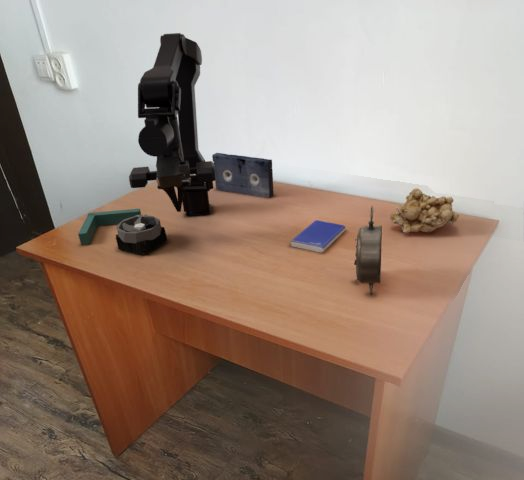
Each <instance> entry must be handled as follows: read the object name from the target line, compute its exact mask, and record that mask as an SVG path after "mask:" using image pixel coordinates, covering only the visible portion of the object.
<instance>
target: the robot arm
mask: <svg viewBox="0 0 524 480" xmlns="http://www.w3.org/2000/svg"><path fill="white" fill-rule="evenodd" d="M159 39H160V40H159V42H160V45H159V49H158V52H157V53H156V54H157V55H156V57H155V61H154V63H153V67H152V68H150V69H148V70H146V71H144V72H143V74H142V76H141V77H140V79H139V80H140V81H139V82H138V84H137V118H138V119H144V121H143V122H144V127H143V128H141V129H140V131H139V133H138V137H137V138H138V139H137V142H138V145H139V148H140V149H141V150H142V151H143V153H144V154H146V155H147V156H150V157H154V158H155V157H156V162H155V167H156V170H151V169H150V168H149V166H137V167H133V168H132V169H131V171H130V173H129V175H128V181H129V185H130V188H131V189H141V188H145V187H147V185H148V183H149V182H151V181H156V183H157V187H156V188H157V189H158V190H162V191H163V192H165V194H166V195H167V196H168V199H169V200H170V202H171V203H172V205H173V207H174V209H175V211H176V212H177V213H181V212H182V208H183V212H184V213H185V216H186V217H195V216H205V215H207V216H208V215H211V204H210V197H209V192H210V191H211V190H213V189H214V183H213V182H215V180H216V176H215V165H214V162H213V160H209V161H206V160H205V158H204V156H203V154H202V153H201V151H200V150H199V137H198V121H197V106H196V105H197V104H196V88H195V87H196V84H197V82H198V79H199V78H200V76H201V65H202V64H203V56H202V55H203V54H202V50H201V47H200V46H199V44H198V43H197V42H196V41H194V40H192V39H190V38H188V37H186V36H185V35H184V33H183V34H182V33H181V32H175V33H163V35H160V38H159ZM176 190H177V191H176Z"/></svg>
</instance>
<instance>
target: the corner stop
mask: <svg viewBox="0 0 524 480" xmlns="http://www.w3.org/2000/svg"><path fill="white" fill-rule="evenodd" d="M135 215H142V212H141V208H130V209H117V210H107V211H106V210H105V211H95V212H94V211H93V212H88V213H87V215H86V217H85V219H84V221H83V223H82V225H81V227H80V229H79V231H78V233H77V235H78V239H79V242H80V245H81V246H89V245H90V244H91V242H92V240H93V238H94V236H95V233H96V231H97V229H98V227H102V226H112V225H113V226H114V225H118V224H119V223H120V222H121V221H122V220H124V219H128V218H131V217H134V216H135Z"/></svg>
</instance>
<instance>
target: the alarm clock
mask: <svg viewBox="0 0 524 480" xmlns="http://www.w3.org/2000/svg"><path fill="white" fill-rule="evenodd" d="M369 216H370V217H369V218H370V220H369V221H368V225H362V226H361V227H360V228H359V229H358V231H357V235H356V238H355V239H354V240H355V242H356V245H355V248H356V249H355V259H354V262H353V265H354V266H355V276H356V279H355V280H354V283H357V282H358V283H360V284H368V285H369V287H368V288H369V292H368V294H369V295H370V296H372V295H373V290H374V285H375V284H380V283H381V279H382V278H381V277H382V276H381V275H382V274H381V273H382V243H383V242H382V241H383V225H374V223H375V222H374V220H373V219H374V205H371V206H370V215H369Z"/></svg>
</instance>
